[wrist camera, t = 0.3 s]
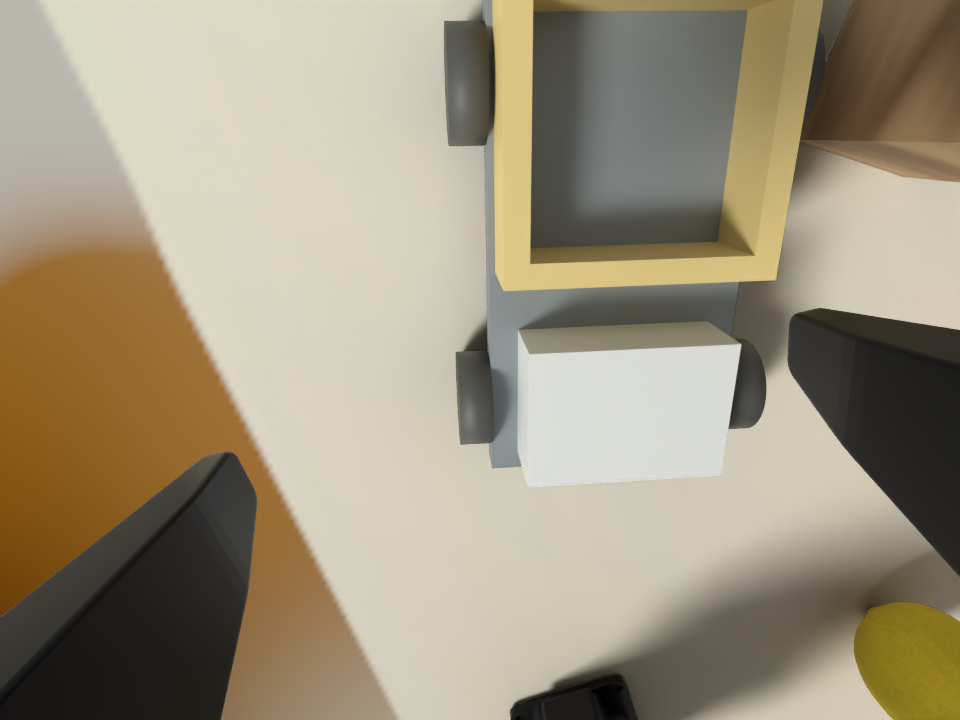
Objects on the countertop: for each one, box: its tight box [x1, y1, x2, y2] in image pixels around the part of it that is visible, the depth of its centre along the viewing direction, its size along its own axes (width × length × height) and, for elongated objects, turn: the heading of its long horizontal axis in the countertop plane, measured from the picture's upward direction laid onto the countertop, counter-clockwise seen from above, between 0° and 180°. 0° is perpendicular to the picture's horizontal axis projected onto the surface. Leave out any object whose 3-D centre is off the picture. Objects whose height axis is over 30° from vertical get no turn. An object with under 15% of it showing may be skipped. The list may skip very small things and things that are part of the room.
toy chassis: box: [444, 0, 825, 488], centre depth 20 cm, size 16×11×5 cm
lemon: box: [854, 602, 960, 720], centre depth 27 cm, size 6×6×8 cm
